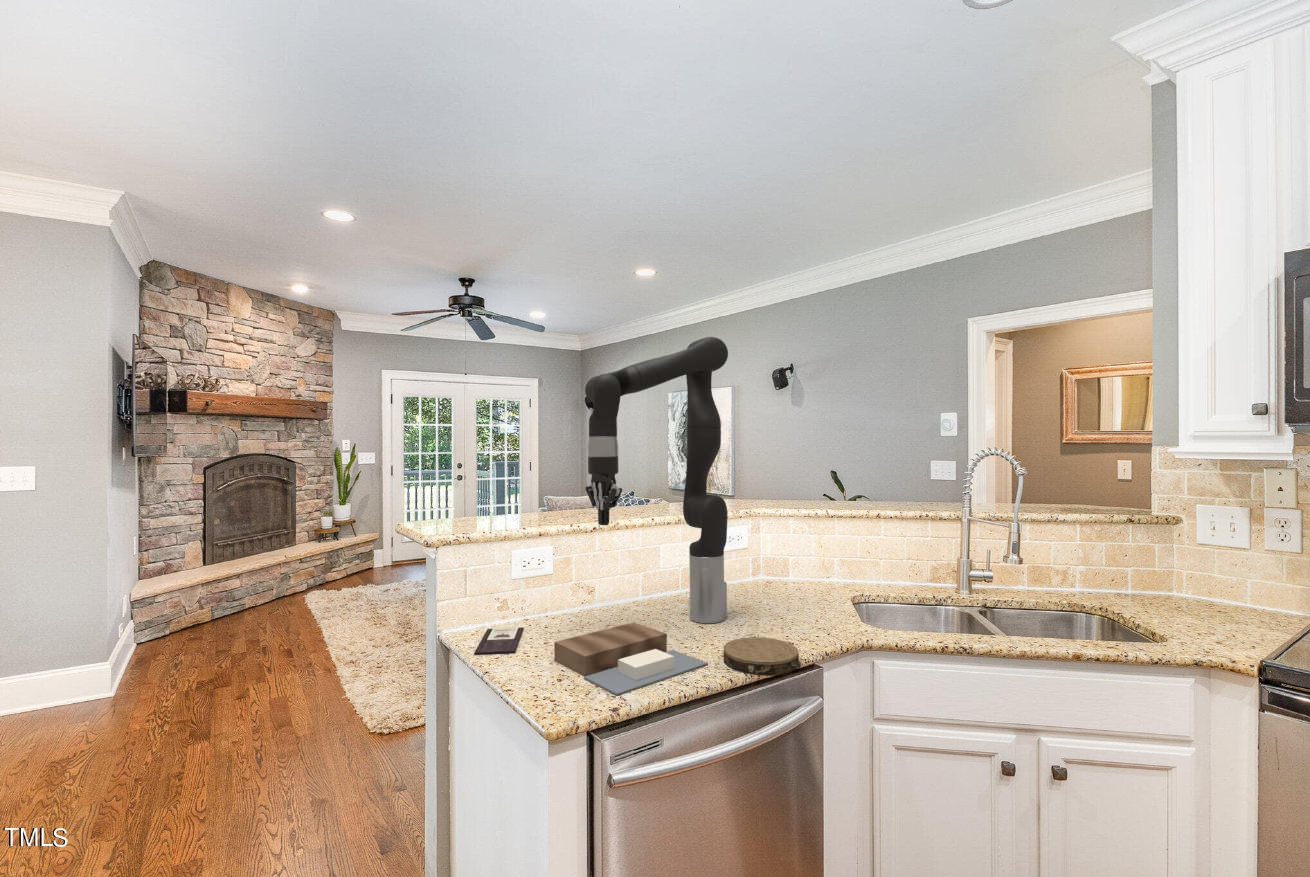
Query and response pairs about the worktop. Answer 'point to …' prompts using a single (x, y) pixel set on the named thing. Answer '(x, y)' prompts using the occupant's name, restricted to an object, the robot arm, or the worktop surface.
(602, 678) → the mat
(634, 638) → the board
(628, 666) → the tile
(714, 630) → the worktop surface
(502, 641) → the chocolate bar
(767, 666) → the brown round disc
